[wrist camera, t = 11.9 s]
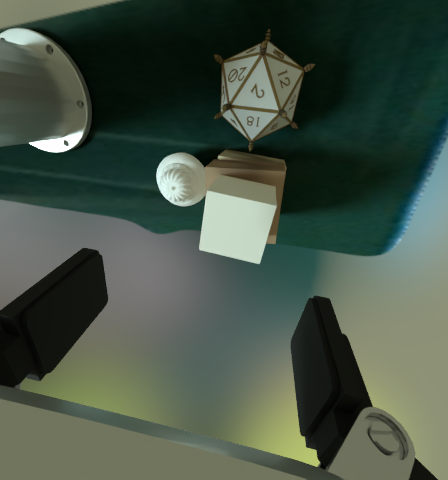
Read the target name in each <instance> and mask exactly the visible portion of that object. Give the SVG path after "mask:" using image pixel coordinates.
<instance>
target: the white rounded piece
mask: <svg viewBox="0 0 448 480" xmlns="http://www.w3.org/2000/svg"><path fill="white" fill-rule="evenodd" d="M156 177H157V183H158V186H159V189H160V191H161V193H162V194H163V196H164V197H165V198H166V199H167V200H169V201H170V202H171V203H173V204H176V205H179V206H190V205H193V204H196V203H197V202H199V201H200V200H201V199H202V198H203V197H204V196H205V168H204V166H203V165H202V164H201V162H200V161H199V160H197V159H196V158H195V157H194V156H192V155H190V154H187V153H174V154H171V155H169V156H167V157H166V158H164V159H163V160H162V162H161V163H160V165H159V167H158V169H157V175H156Z"/></svg>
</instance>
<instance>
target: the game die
mask: <svg viewBox="0 0 448 480" xmlns="http://www.w3.org/2000/svg"><path fill="white" fill-rule="evenodd" d="M271 35H272V34H271V32H270V29H268V31H267V32H266V33H265V41H263V42H261V43H259V44H257V45H255V46H253V47H251V48H249V49H247V50H245V51H243V52H240V53H238V54H236V55H234V56H232V57H230V58H228V59H226V60H223V59H222V57H221V56H220V54H219V55H214V56H215V59H216V61H217V62H218V63H220V64H222V73H221V113H218V114H216V115H215V117H214V119H219V118H221V117H222V116H223V117H224V118H225V119H226V120H227V121H228V122H229V123H230V124H231V125H232V126H234V127H235V128H236V129H237V130H238V131H239V132H240V133H241V134H242V135H243V136H244V137H246V138H247V139H248V140H249V141H250V143H249V144H248V145H249V146H248V148H249V151H251V150H252V148H254V147H253V142H254V141H256V140H258V139H260V138H262V137H264V136H266V135H268V134H270V133H273V132H275V131H277V130H279V129H281V128H283V127H285V126H287V125H289V124H290V125H291V127H292V128H297V129H298V127H297V123H295V122H293V121H292V120H293V116H294V112H295V108H296V104H297V100H298V96H299V92H300V88H301V84H302V80H303V76H304V73H305V72H308V71H310V70H311V69H312V68H313V67H314V65H315V64H310V63H309V64H308V65H306V66H305V67H304V68H302V67H301V66H300V65H299V64H297V63H296V62H295V61H294V60H292V59H291V58H290V57H289V56H287V55H286V54H285V53H284V52H282V51H281V50H280V49H279V48H277V47H276V46H275V45H274V44H272V43H271V42H270V41H269V40H270V38H271Z"/></svg>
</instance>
